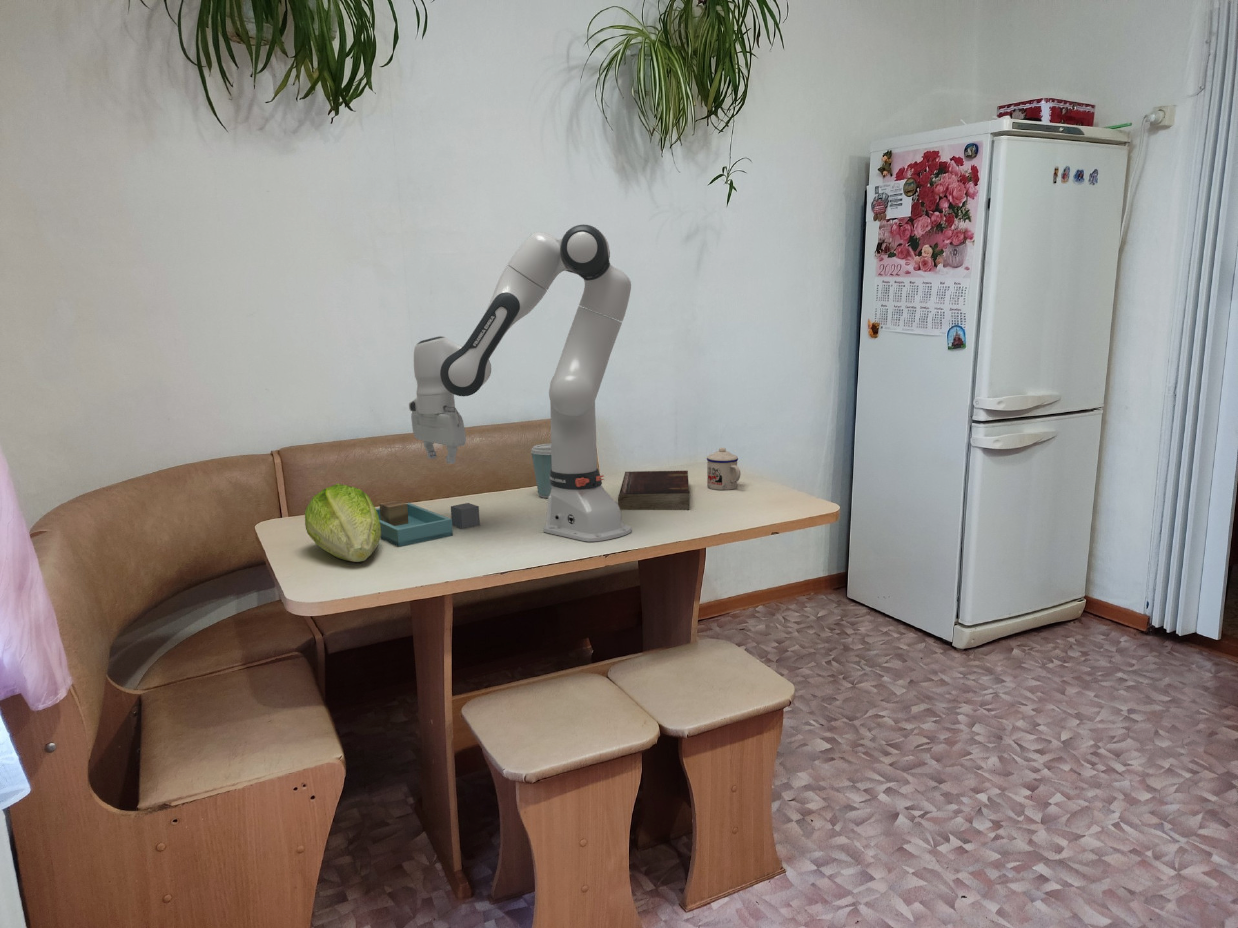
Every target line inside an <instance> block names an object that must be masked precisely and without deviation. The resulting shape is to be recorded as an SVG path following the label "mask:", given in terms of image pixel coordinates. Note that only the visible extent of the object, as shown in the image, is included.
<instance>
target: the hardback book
mask: <svg viewBox="0 0 1238 928" xmlns="http://www.w3.org/2000/svg"><path fill="white" fill-rule="evenodd" d="M623 475H624V476H623V479H622V483H621V486H620V490H619V494H618V498H617V503H618V506H619V508H620V511H689V510H690V485H689V484H690V483H689V482H690V481H689V470H645V471H643V470H642V471H641V470H639V471H624V474H623Z"/></svg>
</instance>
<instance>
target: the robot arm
mask: <svg viewBox="0 0 1238 928" xmlns="http://www.w3.org/2000/svg"><path fill="white" fill-rule="evenodd" d="M610 257H611V251H610V245H609V242H608V240H607V238H606V236H605V235H604V234H603V233H602V232H601V231H600V230H599V229H598V228H596V227H594V226H593V225H591V224H577V225H574V226H572V227H571V228H570V229H568V230H567V231H566V232H565V234H564V235H563V236H562V237H561V238H557V237H555V236H554V235H551V234H550V233H547V232H543V231H536V232H534V233H531V234H530V235H529V236H528V237H527V238H526V240H524V242H523V243H522V244H521V245H520V246H519V248H518V249H517V250H516V251H515V253H514V254H513V256H512V257H511V258H510V260H509V261H508V263H507V264H506V266H505V267H504V269H503V271H502V272H501V275H500V277H499V279H498V282H497V284H496V286H495V288H494V291H493V293H492V296H491V299H490V301H489V303H488V307H487V309H486V311H485V313H484V315H483V316H482V317H481V319H480V321H479V322H478V324H477V325H476V327H474V328H475V329H474V330H473V332H472V333H471V334H470V336H469V338H468V339H467V340H466V342H465V343H464V344H463V345H460V344H457V343H455V342H453V341H451V340H449V339H448V338H446V337H445V336H441V335H439V336H434V337H431V338H427V339H423V340H420V341H419V342H418V343H416V345H415V346H414V351H413V370H414V371H413V372H414V378H415V382H416V385H417V387H416V398H415V399H413V400H412V401H410V402H409V403H408V410H409V411H410V412H411V415H410V416H411V417H410V418H411V426H412V434H413V435H414V438H415V439H416V440H419V441H423V443H422V444H423V446H424V449H425V451H426V456H427V459H430V460H434V459H437V457H438V456H437V451H436V450H435V448H434V444H436V445H437V444H439V445H442V446H446V450H447V455H445V459H446V460H445V462H446V463H447V464H452V465H453V464H455V463H456V461H457V460H456V455H457V452H458V447H461V446H465V445H466V442H467V436H466V435H467V434H466V429H465V424H464V420H463V417H462V415H461V414H460V412H458V409H457V408H456V404H455V396H458V397H468V396H471V395H474V394H475V393H477V392H478V391H480V388H481V387H483V385H484V384H485V383H487V381H488V380H489V378H490V376H491V375H492V364H491V361H490V358H491V356H492V355H493V354H494V352H495V350H496V349H497V347H498V346H499V344H500V343H501V340H503V337H504V336H505V335H506V333H507V332H508V331H509V330H510V329H511V328H512V326H513V325H514V324H516V323H517V322H518V321H520V320H521V319H523V318H524V317H525V316H526V315H528V314H529V313H531V312H532V311H533V310H534V309H535V307H536V306H537V305H538V304H539V303H540V301H542V299H543V298H544V296H545V294H546V293H547V292H548V291H549V289H550V287H551V285H552V284H553V282H554V280H555V279H556V278H557V277H558V275H560V274H561V273H562V272H568V273H571V274H572V273H573V274H575V275H578V276H579V277H581V278H582V279H583V281H584V288H583V293H582V295H581V299H580V301H579V303H578V306H577V309H576V312H575V315H574V317H573V320H572V323H571V326H570V329H569V332H568V334H567V337H566V340H565V343H564V345H563V349H562V351H561V354H560V358H559V360H558V363H557V365H556V368H555V371H554V374H553V376H552V378H551V380H550V382H549V383H550V384H549V389H548V396H549V398H548V399H549V401H550V402H549V403H550V406H549V407H550V443H551V461H552V469H551V470H550V484H551V485H552V489H551V492H550V495H549V497H548V498H547V508H546V524H545V525H544V526H543V527H542V528H543V530H542V531H543V533H547V534H551V535H556V536H560V537H564V538H569V539H573V540H577V541H583V542H602V541H607V540H612V539H616V538H620V537H624V536H626V535H628V534H630V533H632V527H631V526H630V525H628V524H625V523H623V522H622V513H621V511H622V510H620V508H619V506H618V501H616V500H614V499H613V498H612V496H611V495H610V494H609V493H608V491H606V489H605V488H604V487H603V481H604V480H605V478H604V477H605V475H604V474H602V475H601V473H600V470H599V469H598V467H597V466H598V465H597V464H598V462H597V454H598V453H597V452H598V451H597V426H596V425H597V422H596V421H597V420H596V419H597V418H596V399H597V396H598V395H599V394H598V393H599V390H600V387H601V384H602V381H603V379H604V376H605V373H606V370H607V366H608V363H609V360H610V357H611V354H612V352H613V348H614V346H615V343H616V340H617V338H618V335H619V332H620V329H621V328H622V327H621V326H622V324H623V321H624V319H625V316H626V312H627V309H628V306H629V305H628V304H629V301H630V297H631V296H630V295H631V290H632V281H631V280H630V278H629V276H628V275H627V274H626V273H625V272H623V271H622V270H620V269H619V268H617V267H614V266H613V265H611V262H610Z"/></svg>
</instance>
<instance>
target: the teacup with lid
mask: <svg viewBox="0 0 1238 928" xmlns="http://www.w3.org/2000/svg"><path fill="white" fill-rule="evenodd" d="M706 460H707V462H706V463H707V468H706V469H707V473H706V474H707V476H706V477H707V479H706V484H707V485H706V487H707V488H708V489H710V490H715V491H731V490H735V489H736V488H737V487H738V482H739V480H740V478H741V469H740V468H739V466H738V460H739V458H738V456H737V455H736V454H733V453H731V452H730V451H727V449H726V448H725V447H719V449H718V450H717V451H715V452H714V453H711V454H709V455H707V457H706Z"/></svg>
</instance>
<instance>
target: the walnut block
mask: <svg viewBox="0 0 1238 928" xmlns="http://www.w3.org/2000/svg"><path fill="white" fill-rule="evenodd" d="M378 505H379V508H380V519H381V520H382V521H384V522H386V523H388V524H391V525H393V526H398V525H403V524H408V508H407V504H406V502H404V501H402V500H398V499H397V500H393V501H387V502H381V503H379V504H378Z"/></svg>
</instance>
